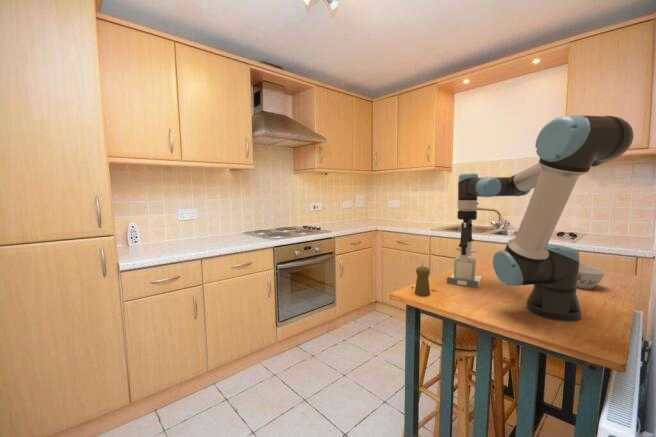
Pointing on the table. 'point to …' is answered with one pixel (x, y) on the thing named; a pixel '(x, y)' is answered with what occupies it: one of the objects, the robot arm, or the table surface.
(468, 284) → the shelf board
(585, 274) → the teacup
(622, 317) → the table surface
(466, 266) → the tea tin
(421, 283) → the olive tapered upright piece
